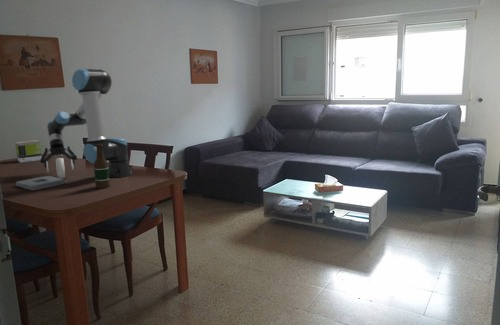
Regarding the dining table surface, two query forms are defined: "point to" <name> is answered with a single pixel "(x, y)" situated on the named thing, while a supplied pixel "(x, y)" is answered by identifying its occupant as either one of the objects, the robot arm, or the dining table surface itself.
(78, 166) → the dining table surface
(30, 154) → the tea box
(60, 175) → the peg
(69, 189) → the dining table surface
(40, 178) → the socket plate
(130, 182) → the dining table surface
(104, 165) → the beer bottle
